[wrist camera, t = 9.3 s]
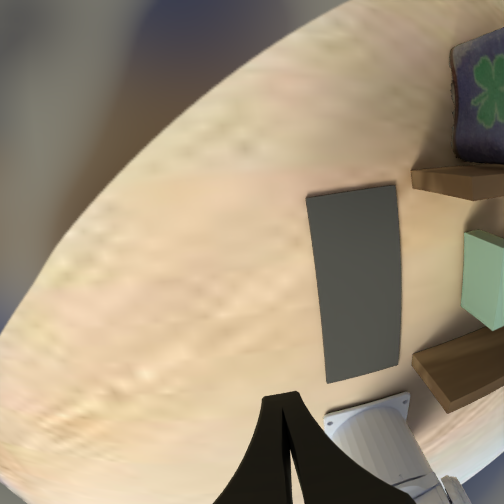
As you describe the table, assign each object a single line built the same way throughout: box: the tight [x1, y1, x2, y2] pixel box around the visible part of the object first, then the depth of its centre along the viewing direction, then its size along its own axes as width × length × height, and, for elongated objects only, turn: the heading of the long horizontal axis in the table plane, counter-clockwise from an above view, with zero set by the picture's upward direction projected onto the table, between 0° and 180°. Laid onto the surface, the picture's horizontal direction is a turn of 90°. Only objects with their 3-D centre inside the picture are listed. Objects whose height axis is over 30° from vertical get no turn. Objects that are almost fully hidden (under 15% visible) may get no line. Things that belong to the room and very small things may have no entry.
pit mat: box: [305, 185, 401, 384], centre depth 20 cm, size 14×6×1 cm, turn 10°
